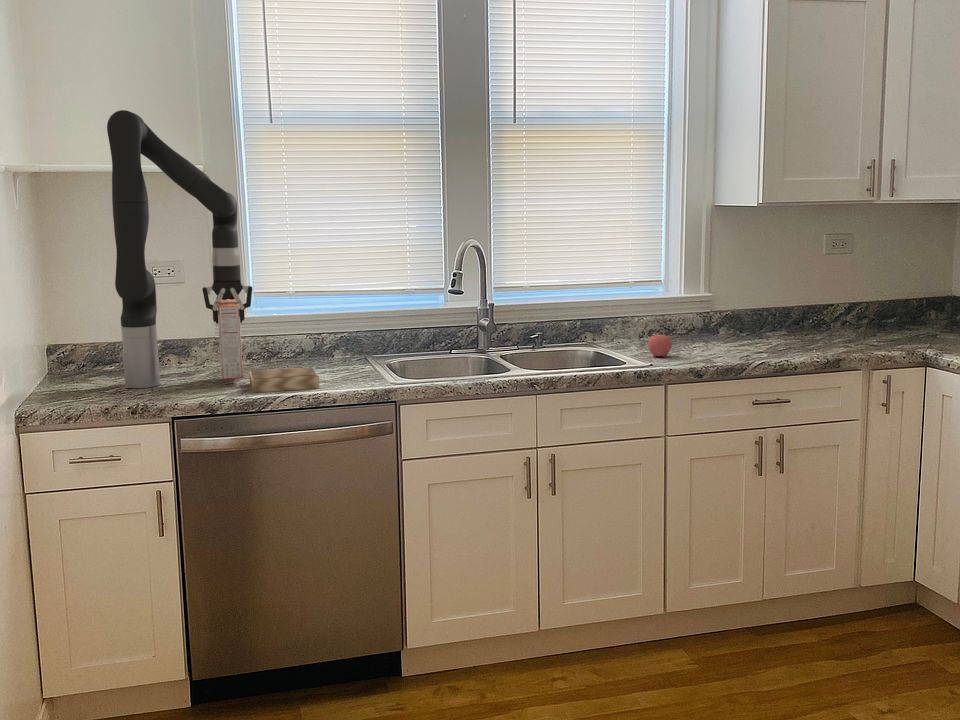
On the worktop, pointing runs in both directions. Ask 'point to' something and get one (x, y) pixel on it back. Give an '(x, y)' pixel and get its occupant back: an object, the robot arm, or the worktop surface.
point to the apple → (659, 345)
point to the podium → (284, 379)
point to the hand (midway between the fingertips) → (229, 322)
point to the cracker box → (230, 339)
